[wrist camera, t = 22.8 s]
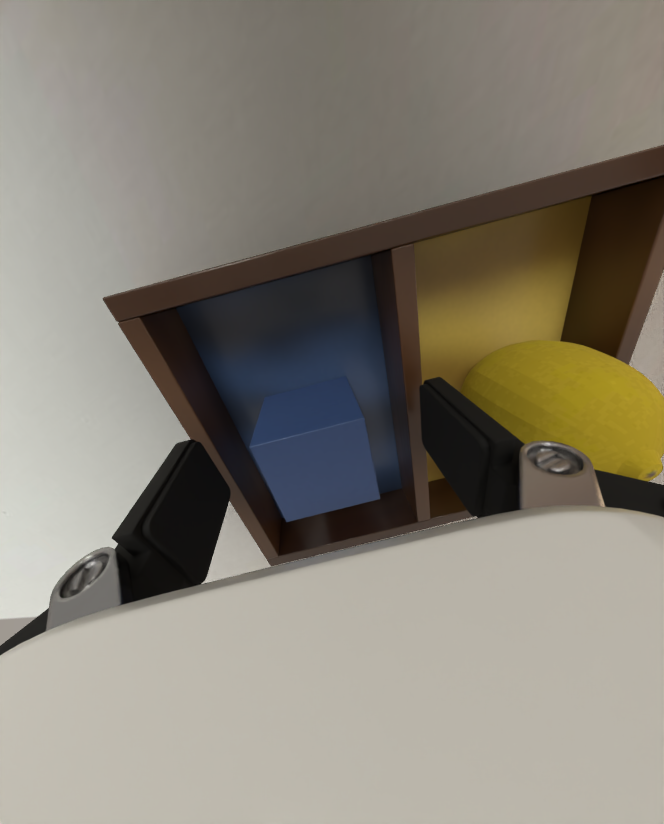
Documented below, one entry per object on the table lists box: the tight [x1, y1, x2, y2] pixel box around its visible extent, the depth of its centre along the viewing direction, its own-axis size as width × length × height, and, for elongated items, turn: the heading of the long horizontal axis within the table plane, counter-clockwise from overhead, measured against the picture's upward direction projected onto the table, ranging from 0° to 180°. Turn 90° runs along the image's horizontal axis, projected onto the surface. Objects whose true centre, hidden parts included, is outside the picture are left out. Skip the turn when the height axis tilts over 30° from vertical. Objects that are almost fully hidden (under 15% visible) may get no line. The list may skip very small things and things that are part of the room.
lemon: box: [460, 340, 664, 481], centre depth 11 cm, size 6×6×8 cm
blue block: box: [249, 376, 380, 522], centre depth 12 cm, size 4×4×4 cm
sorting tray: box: [103, 145, 664, 566], centre depth 13 cm, size 16×20×4 cm
